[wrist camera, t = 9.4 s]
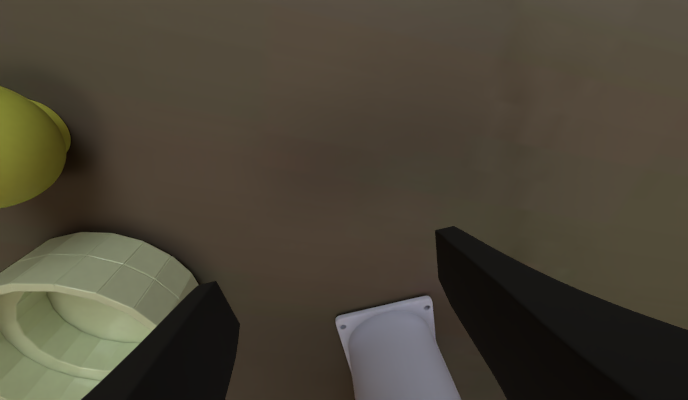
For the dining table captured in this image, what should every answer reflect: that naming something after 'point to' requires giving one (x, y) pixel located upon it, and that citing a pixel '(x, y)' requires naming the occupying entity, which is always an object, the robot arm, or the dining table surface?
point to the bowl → (81, 311)
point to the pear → (29, 148)
